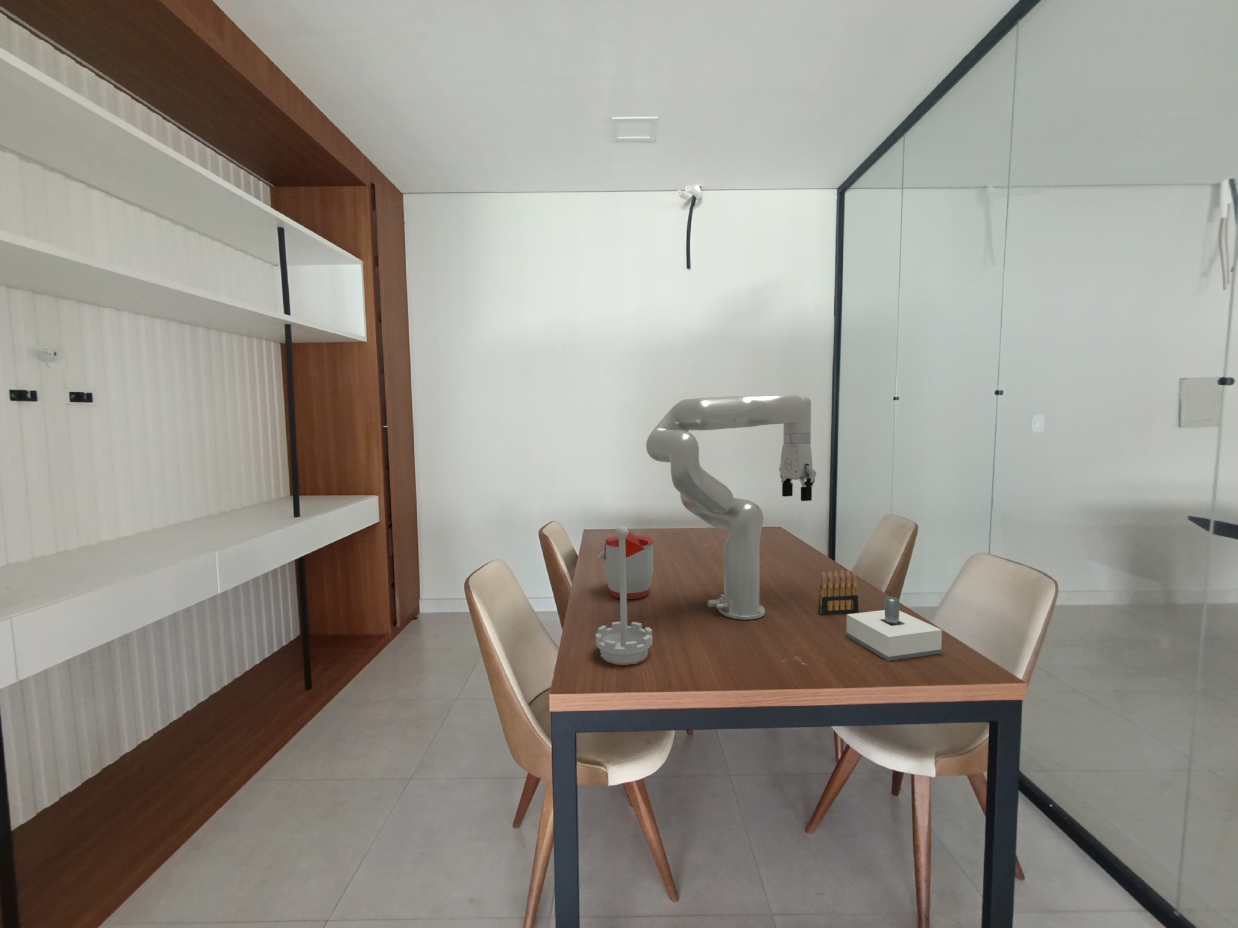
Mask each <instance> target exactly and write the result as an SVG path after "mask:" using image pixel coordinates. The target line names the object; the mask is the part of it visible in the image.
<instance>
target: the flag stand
mask: <svg viewBox="0 0 1238 928" xmlns="http://www.w3.org/2000/svg"><path fill="white" fill-rule="evenodd" d="M629 531H630V530H629V529H628V528H627V527H626V526H624V525H620V526H618V527H617V528H616V530H615V535H616V536H617V537H618V538H619V568H620V599H619V602H620V603H619V611H620V613H619V615H620V617H619V618H620V621H613V622H612V623H611V627H608V628H607V625H601V626H599V627H598V628H597V633H595V645H596V647H597V648H598V649H599V652H600V653H601V655H600V657H601V656H602V657H603V658H605V659H607V660H610V661H613V662H619V663H629V662H630V663H631V662H637V661H640V660H642V659H644V658H645V657H647V655H648V656H649V648H651V647H652V645H653V630H652V628H651V627H650V626H647V627H644V628H643V623H640V622H636V621H632V622H631V623H630V624H631V625H628V605H627V604H628V603H627V601H628V599H627V590H626V558H627V557H629V556H632V555H634V554H636V553H638V552H640V551H642V550H644V549H645V548H643V547H641V546H639V545H637V544H635V543H633V542H631V541H629V540H627V539H626V537H627V536H628V534H629ZM616 536H615V537H616ZM647 658H648V657H647Z"/></svg>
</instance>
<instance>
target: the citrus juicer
mask: <svg viewBox="0 0 1238 928" xmlns="http://www.w3.org/2000/svg"><path fill="white" fill-rule="evenodd" d="M628 531H629V534H628V536H627V537H626V539H627V540H629V541H631V542H633V543H635V544H637V545H639V546H641V547H643V548H645V549H644V550H642V551H640V552H638V553H636V554H634V555H632V556H629V557H627V558H626V590H627V600H635V599H638V598H640V599H643V598H644V597H646V596H647V595H648V594H649V592H650V589H651V585H652V581H653V577H654V576H653V575H654V542H655V540H654V539H652V537H648V536H644V535H643V536H642V535H635V534H633V533H632V532H631V531H630V530H628ZM597 559H603V560H604V575H605V580H606V584H607V589H608V591H609V593H610V595H611V596H612V597H614V598H615V599H617V598H620V568H619V538H618V537H617V536H610V537H608V538H606V539H605V543H604V550H601V551H600V553H599V555H598V556H597ZM642 597H643V598H642Z"/></svg>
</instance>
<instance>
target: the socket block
mask: <svg viewBox="0 0 1238 928" xmlns="http://www.w3.org/2000/svg"><path fill="white" fill-rule="evenodd" d="M942 632H943V630H942V629H941V628H938V627H936V626H934V625H932V624H930V623H928V622H925V621H923V620H921V619H919V618H917V617H914V616H912V615H911V614H908V613H906V612H903V611H901V610H899V625H895V626H890V625H889V624H887V623H885V609H883V610H872V611H865V612H859V613H855V614H846V637H847V638H849V639H850V640H852V641H854V642H855V643H857V644H859V645H860V646H862V647H864V648H865V649H867V650H869V651H871V652H872V653H874V654H875V655H877V656H878V657H880V658H882V659H884V660H886V661H887V662H892V660H893V661H900V660H907V659H914V658H920V657H927V656H928V657H929V656H932V655H934V656H935V655H941V654H942V641H943V640H942V639H943V633H942ZM899 659H900V660H899Z"/></svg>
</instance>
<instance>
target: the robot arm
mask: <svg viewBox="0 0 1238 928" xmlns="http://www.w3.org/2000/svg"><path fill="white" fill-rule="evenodd" d="M782 424H783V437H782V438H783V439H782V440H783V442H782V443H783V444H782V447H781V454H780V467H779V468H778V470H779V476H780V479H781V486H782V487H781V489H782V490H781V496H782V497H792V496H793V495H794V494H793V491H794V490H793V487H794V485H793V484H794V483H793V482H792V481H793V480H799V481H800V484H801V487H800V501H801V502H810V501H812V500H813V499H812V497H813V487H814V483H815V481H816V476H817V471H816V470H814V469H813V456H812V455H813V453H812V448H811V446H812V443H811V442H812V441H811V439H812V438H811V437H812V429H811V428H812V400H811V398H809V397H807V396H799V395H797V394H790V395H789V394H786V395H772V396H771V395H770V396H768V395H767V396H766V395H765V396H764V395H763V396H761V395H760V396H758V395H757V396H756V395H754V396H753V395H735V396H734V395H733V396H714V397H712V396H711V397H697V398H688V399H687V398H685V399H682V400H679V401H678V402H677V403H676V404H675V405H673V406H672V407H671V409H670V410H669V411H668V412H667V413H666V414H665V415H664V417H663V418H662V419H661V420H660V422H658V424H657V425H656V426H655V427H654V428H653V429H652V431H651V432H650V433H649V436H648V437H647V440H646V443H645V445H646V447H645V448H646V452H647V454H648V456H649V457H650V458H652V459H653V460H654V461H657V462H659V463H660V462H661V463H670V475H671V481H672V482H671V483H672V485H673V486H674V488H675V489H676V490H677V492H679V497H680V500H681V503H682V505H683V507H684V508H685V509H687V511H688V512H691V514H693V515H695V516H696V517H697V518H699V519H700V520H702V521H704V522H705V523H706V524H709V525H710V526H711V527H714V528H716V529H719V530H723V531H726V532H728V536H727V539H726V540H725V542H724V549H723V560H724V561H723V579H724V580H723V587H724V589H723V593H724V594H723V593H721V594H720V597H718V598H717V599H708V600H707V606H708V608H714V607H715V608H716V610H718V612H719V613H720V615H722V616H724V617H727V618H729V619H735V620H740V621H741V620H743V621H746V620H747V621H748V620H749V621H751V620H757V619H760V618H762V617H763V616H765V614H766V609H765V606H763V605H762V604H760V544H761V535H762V530H763V529H762V528H763V524H764V513H763V510H762V509H761V508H760V506H759V505H758V504H757V503H756V502H754V501H752V500H748V499H744V498H743V499H742V498H737V497H734V494H733V492H732V491H731V489H730V488H729V487H728V486H727V485H725V484H724V483H722V482H721V481H720V480H719V479H717V478H715V477H714V476H713V475H712V474H710V473H709V472H708V471H706V470H705V469H704V468H703V467H702V466H701V464H700V454H699V453H700V449H699V447H700V446H699V442H698V441H697V438H696V436H695V435H693V434H692V433H691V432H689V431H713V430H726V429H727V430H728V429H740V428H741V429H742V428H752V427H759V426H767V425H769V426H770V425H782Z"/></svg>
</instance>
